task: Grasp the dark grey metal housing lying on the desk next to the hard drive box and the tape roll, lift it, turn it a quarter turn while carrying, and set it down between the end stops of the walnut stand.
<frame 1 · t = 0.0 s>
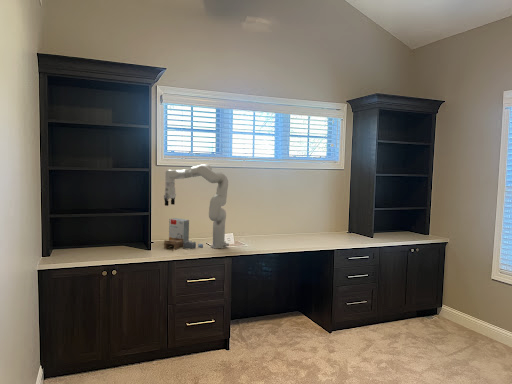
hand: (169, 205, 320), 31 cm above the table, fingers open, 9 cm apart
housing: (189, 248, 302), on the table
hard drive box: (178, 243, 319), on the table
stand: (173, 247, 302), on the table
tape roll: (200, 247, 306), on the table
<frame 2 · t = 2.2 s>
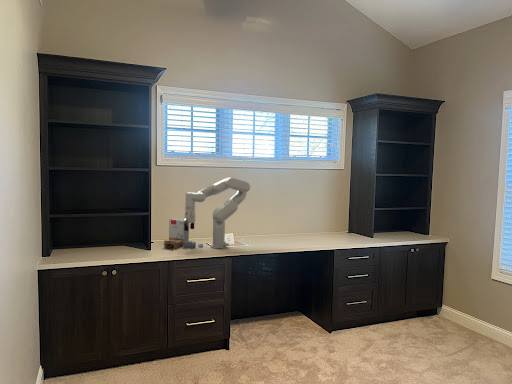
hand: (189, 229, 300), 15 cm above the table, fingers open, 9 cm apart
nothing on the table moved.
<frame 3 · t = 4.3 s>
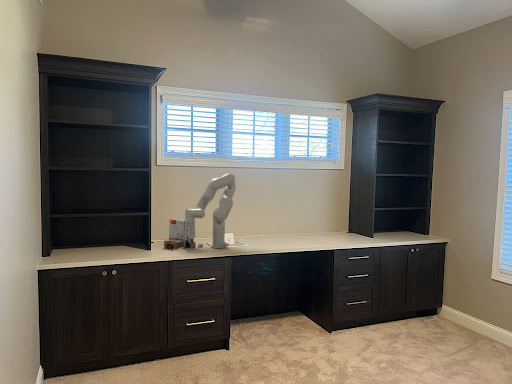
hand: (189, 246, 302), 1 cm above the table, fingers closed on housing, 5 cm apart
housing: (189, 248, 302), on the table, touching gripper
everything else where it was.
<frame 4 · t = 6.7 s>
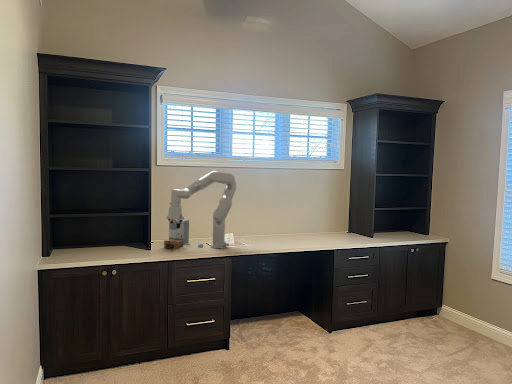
hand: (175, 227, 301), 16 cm above the table, fingers closed on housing, 5 cm apart
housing: (175, 228, 301), point 15 cm above the table, touching gripper
everything else where it was.
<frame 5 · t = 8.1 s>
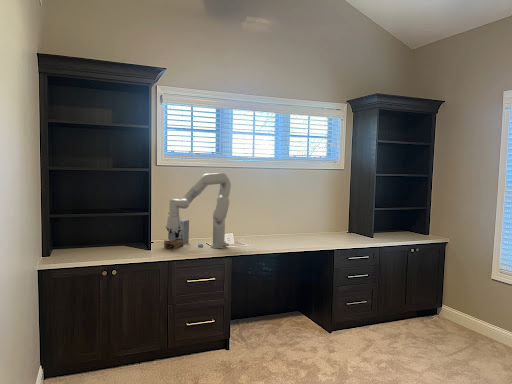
hand: (173, 237, 301), 8 cm above the table, fingers closed on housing, 5 cm apart
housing: (173, 238, 301), point 7 cm above the table, touching gripper
everything else where it was.
when the fingers open (7 cm above the table, at t = 9.1 s): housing drops 1 cm, resting on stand.
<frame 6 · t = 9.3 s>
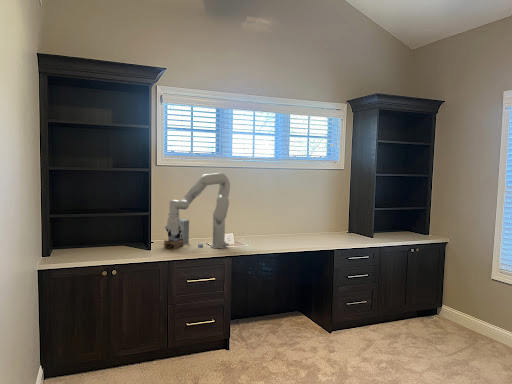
hand: (174, 237, 301), 8 cm above the table, fingers open, 7 cm apart
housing: (174, 241, 302), point 5 cm above the table, touching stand
everything else where it was.
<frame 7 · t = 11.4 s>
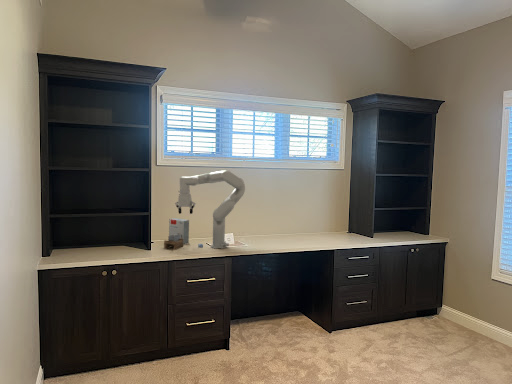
hand: (185, 213, 304), 27 cm above the table, fingers open, 9 cm apart
nothing on the table moved.
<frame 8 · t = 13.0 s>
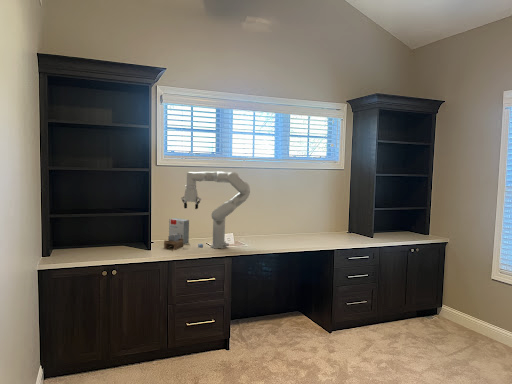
hand: (191, 208, 307), 30 cm above the table, fingers open, 9 cm apart
nothing on the table moved.
at the end: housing inside the target area on the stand (0.1 cm from its centre), point 5.0 cm above the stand's base; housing tilted 0°; the gripper is holding nothing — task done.
